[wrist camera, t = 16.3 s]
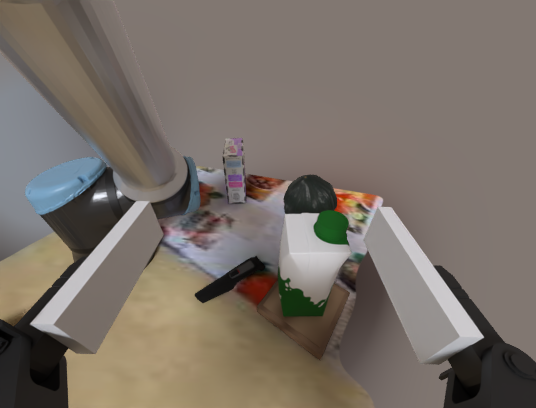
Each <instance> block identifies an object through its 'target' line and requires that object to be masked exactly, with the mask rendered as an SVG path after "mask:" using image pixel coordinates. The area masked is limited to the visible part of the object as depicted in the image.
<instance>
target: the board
mask: <svg viewBox="0 0 536 408" xmlns="http://www.w3.org/2000/svg"><path fill="white" fill-rule="evenodd" d="M349 294H350V292H348V291H346V290H344V289H343V288H341V287H339V286H337V285H336V284H334V285H333V287H332V290H331V293H330V295H329V299H328V302H327V305H326V308H325V311H324V315H323V316H297V317H283V312H282V307H281V302H280V296H279V288H278V280H277V281H276V283H275V284H274V285H273V286H272V288H271V289H270V290H269V292H268V293H267V294H266V295H265V297H264V298H263V299H262V301H261V302H260V303H259V304H258V306H257V312H258V313H260V314H261V315H262V316H264V317H265V318H266V319H267V320H269V321H270V322H271V323H273V324H274V325H275V326H276V327H278V328H279V329H280V330H282V331H283V332H284V333H285V334H287V335H288V336H289V337H291V338H292V339H293V340H294V341H296V342H297V343H298V344H299V345H301V346H302V347H303V348H305V349H306V350H307V351H308V352H310V353H311V354H312V355H314V356H315V357H316V358H317V359H319V360H320V359H321V357H322V355H323V353H324V351H325V348H326V346H327V344H328V342H329V339H330V337H331V335H332V333H333V330H334V328H335V326H336V324H337V321H338V319H339V317H340V314H341V312H342V310H343V308H344V305H345V303H346V301H347V299H348V296H349Z"/></svg>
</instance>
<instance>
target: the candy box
mask: <svg viewBox="0 0 536 408" xmlns="http://www.w3.org/2000/svg"><path fill="white" fill-rule="evenodd" d="M223 164H224V173H225V181H226V189H227V197H228V204H229V203H246V180H245V165H244V147H243V138H230V139H229V138H227V139H225V146H224V152H223Z"/></svg>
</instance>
